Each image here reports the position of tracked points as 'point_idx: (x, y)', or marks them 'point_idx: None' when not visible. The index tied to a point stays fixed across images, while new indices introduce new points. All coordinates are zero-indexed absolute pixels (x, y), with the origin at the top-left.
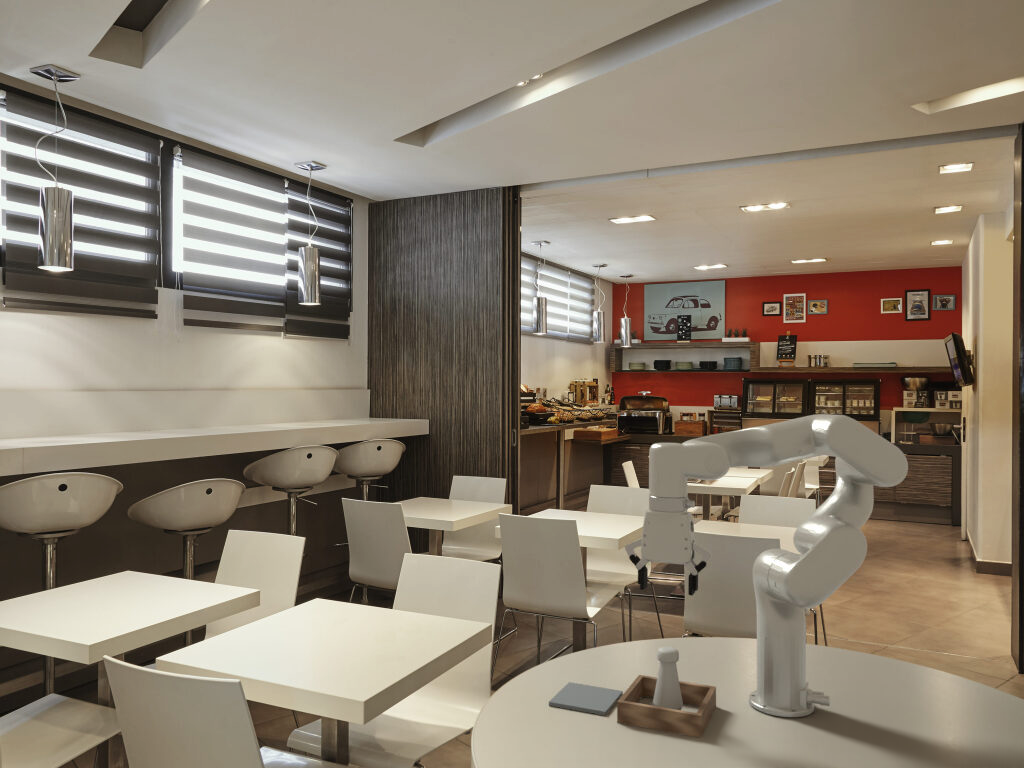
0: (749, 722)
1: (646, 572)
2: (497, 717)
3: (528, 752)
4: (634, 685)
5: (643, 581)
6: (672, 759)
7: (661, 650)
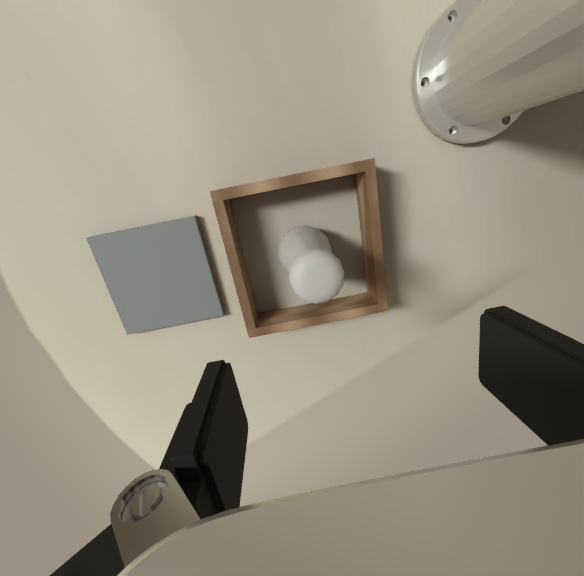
0: (429, 197)
1: (220, 453)
2: (105, 403)
3: None
4: (234, 254)
5: (243, 465)
6: (362, 373)
7: (308, 298)
